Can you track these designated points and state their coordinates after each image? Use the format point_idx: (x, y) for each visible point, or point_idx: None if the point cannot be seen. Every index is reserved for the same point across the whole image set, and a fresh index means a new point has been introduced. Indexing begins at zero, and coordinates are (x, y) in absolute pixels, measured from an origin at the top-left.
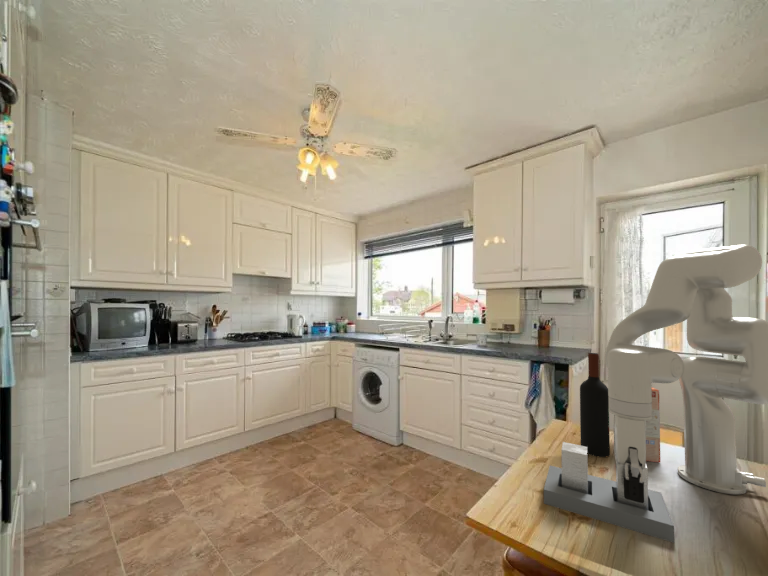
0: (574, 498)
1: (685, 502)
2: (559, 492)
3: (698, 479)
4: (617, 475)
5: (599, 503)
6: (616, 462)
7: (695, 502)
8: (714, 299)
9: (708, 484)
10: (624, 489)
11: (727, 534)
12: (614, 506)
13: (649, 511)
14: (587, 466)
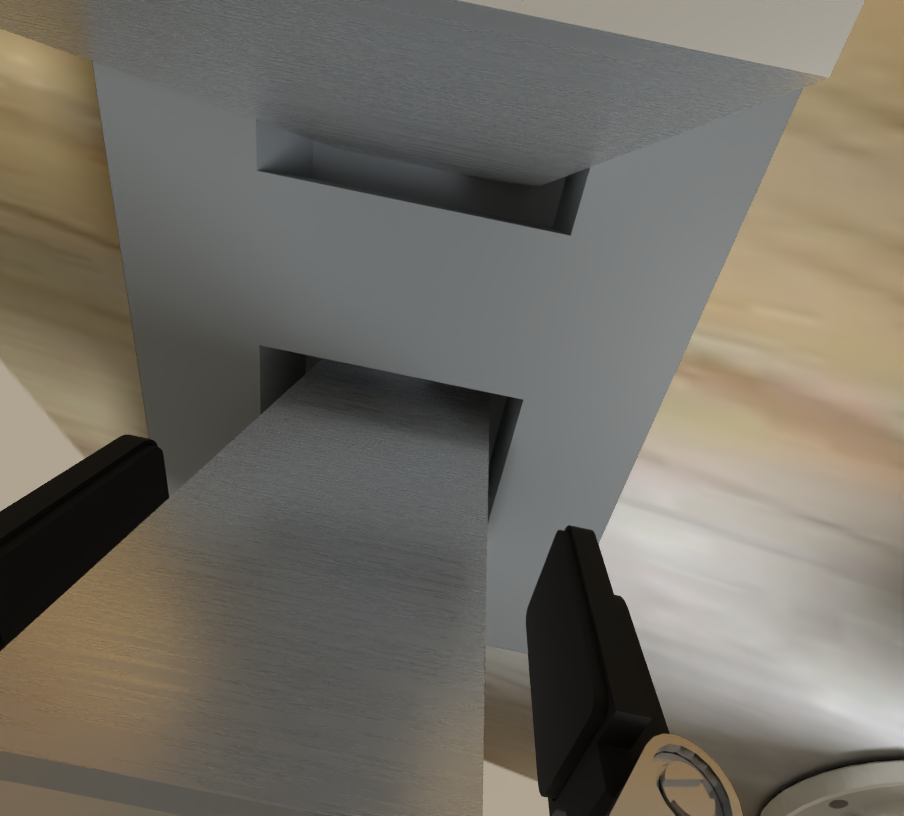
0: None
1: (656, 676)
2: None
3: (862, 806)
4: (170, 513)
5: (143, 212)
6: (298, 655)
7: (665, 705)
8: None
9: (811, 812)
10: (60, 477)
11: None
12: (173, 329)
13: None
14: (227, 86)
